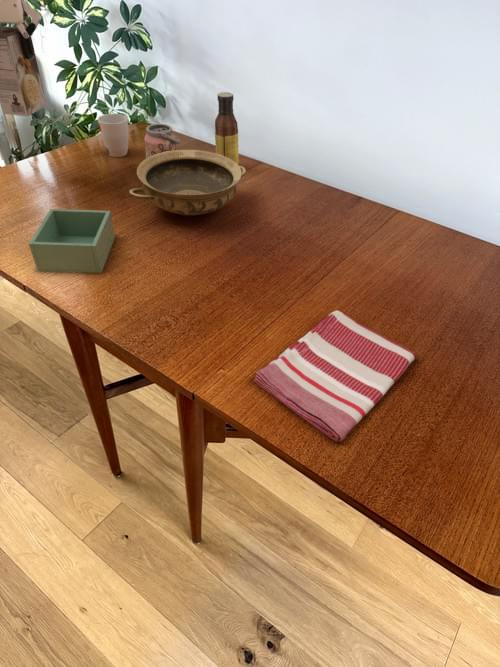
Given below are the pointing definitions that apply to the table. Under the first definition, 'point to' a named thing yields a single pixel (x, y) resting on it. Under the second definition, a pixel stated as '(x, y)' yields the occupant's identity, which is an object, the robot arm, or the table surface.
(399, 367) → the dish towel
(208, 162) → the ceramic bowl
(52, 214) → the bin
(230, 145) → the sauce bottle
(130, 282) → the table surface
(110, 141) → the cup
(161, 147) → the pink jar
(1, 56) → the coffee box
